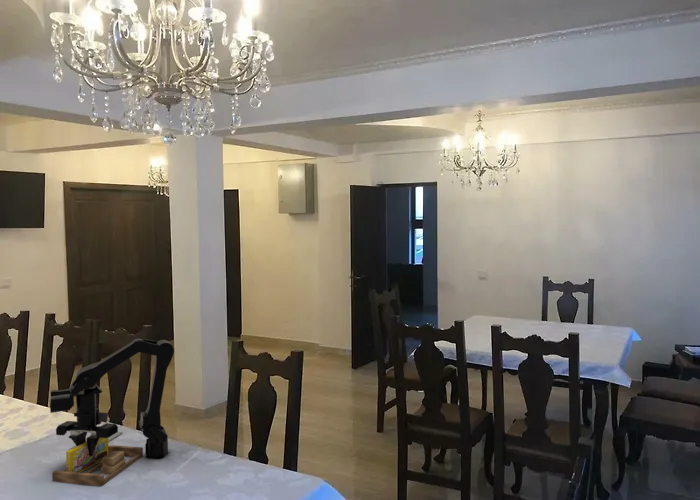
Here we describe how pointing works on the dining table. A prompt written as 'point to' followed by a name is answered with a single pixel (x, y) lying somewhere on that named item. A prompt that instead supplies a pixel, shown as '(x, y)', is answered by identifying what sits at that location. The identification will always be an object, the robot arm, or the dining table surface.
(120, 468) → the rack
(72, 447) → the pad
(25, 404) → the dining table surface
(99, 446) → the candy box
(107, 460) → the offcut upper
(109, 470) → the offcut lower
